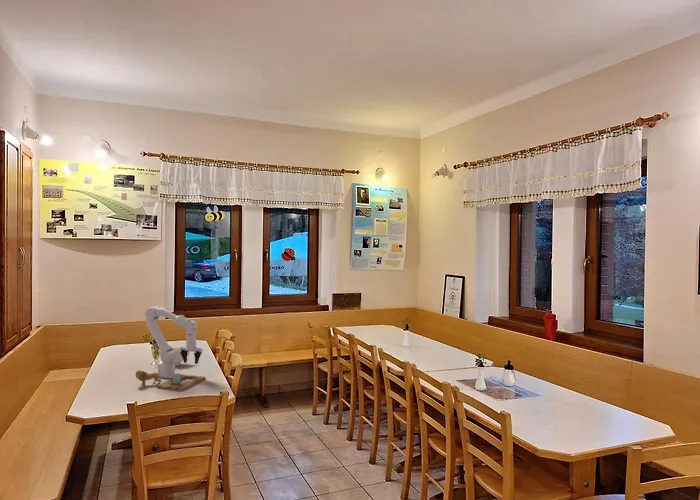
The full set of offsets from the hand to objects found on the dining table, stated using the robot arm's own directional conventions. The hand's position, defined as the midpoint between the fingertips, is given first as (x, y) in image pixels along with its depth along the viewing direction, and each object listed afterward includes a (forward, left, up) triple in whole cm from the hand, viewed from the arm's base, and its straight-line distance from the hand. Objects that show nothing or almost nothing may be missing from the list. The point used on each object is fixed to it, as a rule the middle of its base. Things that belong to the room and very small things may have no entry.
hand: (190, 363), depth 296 cm
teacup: (-25, +24, -9) cm, 36 cm away
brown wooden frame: (+2, -12, -9) cm, 15 cm away
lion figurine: (-14, -20, -9) cm, 27 cm away
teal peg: (+2, -17, -9) cm, 20 cm away
